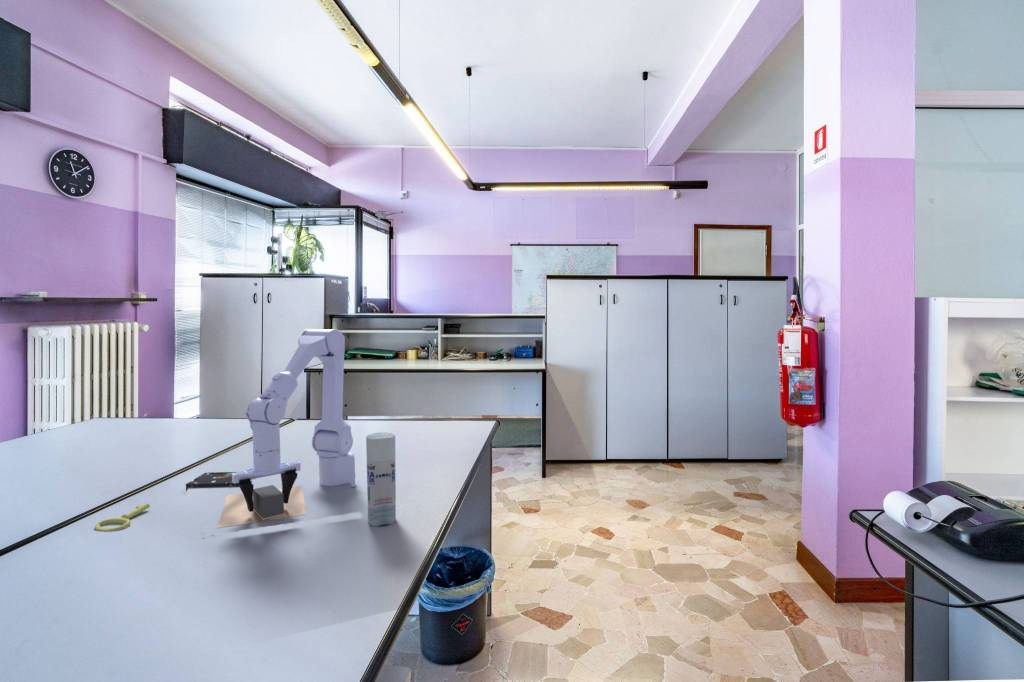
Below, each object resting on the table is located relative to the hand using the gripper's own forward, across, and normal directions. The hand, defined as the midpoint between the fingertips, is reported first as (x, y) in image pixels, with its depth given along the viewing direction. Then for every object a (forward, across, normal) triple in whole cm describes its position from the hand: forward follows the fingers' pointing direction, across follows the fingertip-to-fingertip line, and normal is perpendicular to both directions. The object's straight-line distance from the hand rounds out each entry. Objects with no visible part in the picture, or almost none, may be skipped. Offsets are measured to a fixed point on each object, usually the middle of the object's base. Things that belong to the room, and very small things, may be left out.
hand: (268, 506), depth 120 cm
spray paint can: (+3, -19, +19) cm, 27 cm away
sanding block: (+1, 0, 0) cm, 1 cm away
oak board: (+3, -1, -6) cm, 7 cm away
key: (+3, +26, -20) cm, 33 cm away
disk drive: (+3, +3, -33) cm, 33 cm away
